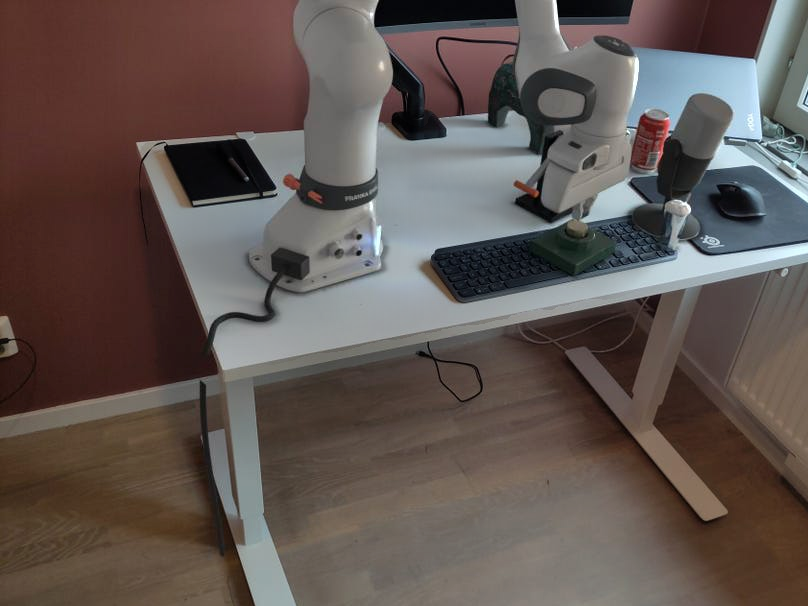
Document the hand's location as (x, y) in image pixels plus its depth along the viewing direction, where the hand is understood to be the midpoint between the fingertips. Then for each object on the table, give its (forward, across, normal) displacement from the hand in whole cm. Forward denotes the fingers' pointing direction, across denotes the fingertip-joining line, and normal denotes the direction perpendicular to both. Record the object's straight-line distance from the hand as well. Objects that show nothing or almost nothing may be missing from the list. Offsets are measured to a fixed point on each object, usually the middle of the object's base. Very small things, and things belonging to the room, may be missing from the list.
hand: (580, 217), depth 142 cm
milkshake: (+7, -16, +10) cm, 20 cm away
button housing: (+7, 0, 0) cm, 7 cm away
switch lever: (-1, -6, -13) cm, 15 cm away
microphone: (+7, -23, +5) cm, 24 cm away
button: (+3, 0, 0) cm, 3 cm away
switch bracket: (+7, -10, -13) cm, 18 cm away
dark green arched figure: (+7, -27, -36) cm, 46 cm away
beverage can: (+7, -39, -11) cm, 41 cm away
